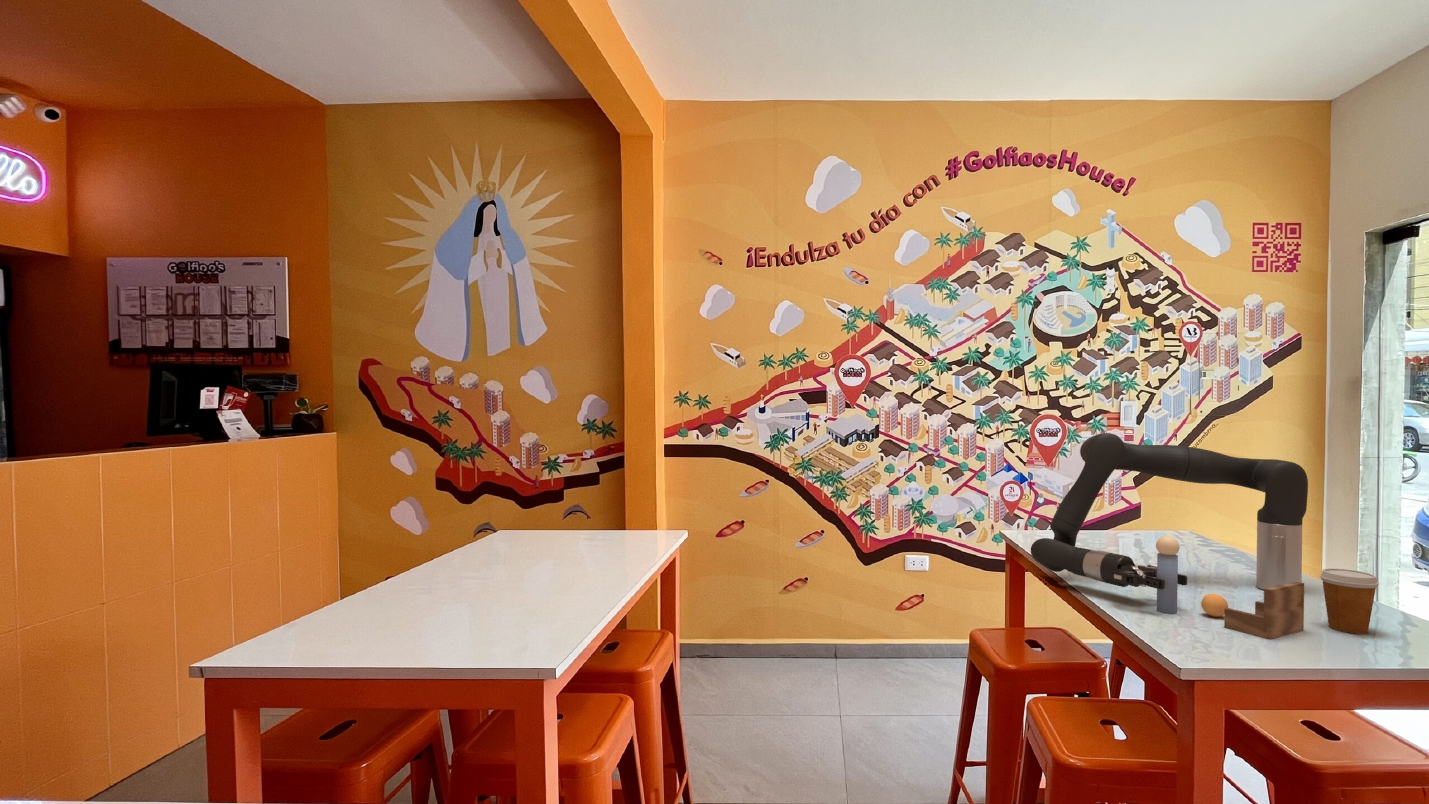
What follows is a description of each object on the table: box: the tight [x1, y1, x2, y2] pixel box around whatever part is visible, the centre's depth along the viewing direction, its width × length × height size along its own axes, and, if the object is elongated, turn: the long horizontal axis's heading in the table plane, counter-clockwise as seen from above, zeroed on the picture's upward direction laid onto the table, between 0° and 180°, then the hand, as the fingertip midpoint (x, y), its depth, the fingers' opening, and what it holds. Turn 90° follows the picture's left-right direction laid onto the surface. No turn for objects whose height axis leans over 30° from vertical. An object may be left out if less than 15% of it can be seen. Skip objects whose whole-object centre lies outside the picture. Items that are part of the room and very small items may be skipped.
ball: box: [1200, 593, 1229, 618], centre depth 163 cm, size 5×5×5 cm
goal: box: [1223, 582, 1305, 640], centre depth 155 cm, size 13×9×10 cm, turn 117°
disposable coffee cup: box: [1319, 567, 1380, 635], centre depth 155 cm, size 10×10×12 cm
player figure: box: [1155, 535, 1180, 615], centre depth 167 cm, size 5×5×17 cm
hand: (1175, 582), depth 165 cm, fingers open, 8 cm apart
